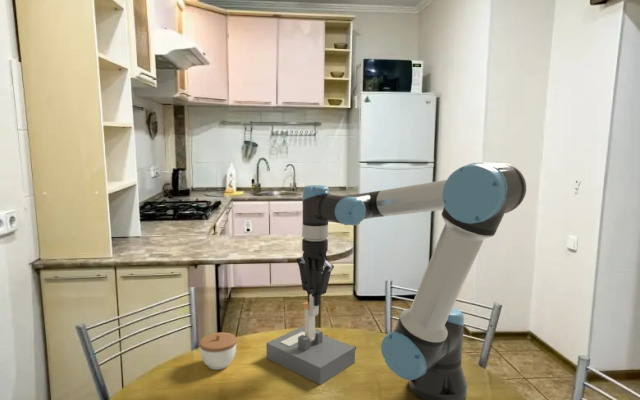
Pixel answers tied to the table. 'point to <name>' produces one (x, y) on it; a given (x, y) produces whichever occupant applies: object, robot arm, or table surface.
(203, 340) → the lidded jar
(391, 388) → the table surface
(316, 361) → the breaker box
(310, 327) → the breaker lever
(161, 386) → the table surface
